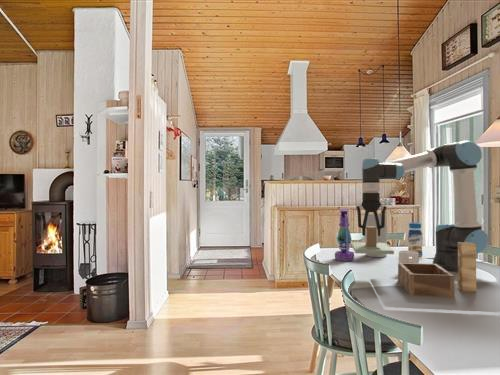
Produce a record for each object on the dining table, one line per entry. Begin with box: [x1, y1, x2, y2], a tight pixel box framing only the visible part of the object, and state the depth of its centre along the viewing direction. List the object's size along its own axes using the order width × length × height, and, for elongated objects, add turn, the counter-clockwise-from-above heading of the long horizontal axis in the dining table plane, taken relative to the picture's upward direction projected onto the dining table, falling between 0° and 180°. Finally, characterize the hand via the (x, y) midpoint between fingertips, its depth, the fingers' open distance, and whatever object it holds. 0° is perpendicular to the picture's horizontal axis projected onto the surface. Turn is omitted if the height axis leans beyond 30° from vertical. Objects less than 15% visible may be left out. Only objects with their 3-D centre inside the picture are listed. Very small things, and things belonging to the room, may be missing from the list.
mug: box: [398, 250, 420, 263], centre depth 181 cm, size 12×9×11 cm
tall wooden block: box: [457, 242, 477, 293], centre depth 151 cm, size 5×5×20 cm
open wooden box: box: [397, 262, 455, 298], centre depth 155 cm, size 22×16×9 cm
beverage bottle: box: [407, 222, 423, 257], centre depth 232 cm, size 8×8×20 cm
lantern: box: [334, 208, 355, 262], centre depth 220 cm, size 13×12×30 cm
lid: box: [350, 226, 395, 255], centre depth 173 cm, size 22×16×10 cm
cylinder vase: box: [365, 214, 388, 258], centre depth 231 cm, size 12×12×25 cm
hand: (371, 242), depth 172 cm, fingers closed on lid, 4 cm apart
